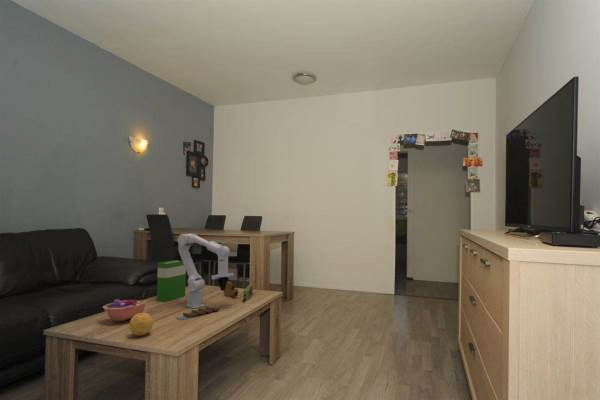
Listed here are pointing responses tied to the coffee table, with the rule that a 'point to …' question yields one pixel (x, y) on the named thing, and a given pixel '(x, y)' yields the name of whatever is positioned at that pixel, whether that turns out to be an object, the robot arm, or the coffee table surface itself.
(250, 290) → the handheld radio
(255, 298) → the coffee table surface
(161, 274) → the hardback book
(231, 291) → the wooden carving
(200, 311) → the domino
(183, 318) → the domino
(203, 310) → the domino
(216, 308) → the domino
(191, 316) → the domino
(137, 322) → the stress ball
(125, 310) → the cell model
